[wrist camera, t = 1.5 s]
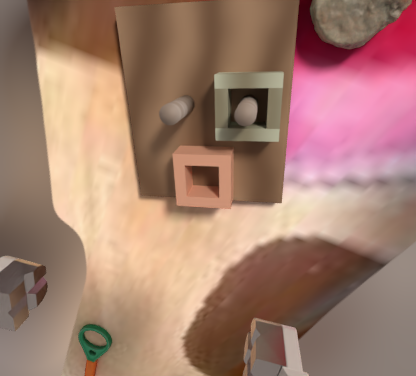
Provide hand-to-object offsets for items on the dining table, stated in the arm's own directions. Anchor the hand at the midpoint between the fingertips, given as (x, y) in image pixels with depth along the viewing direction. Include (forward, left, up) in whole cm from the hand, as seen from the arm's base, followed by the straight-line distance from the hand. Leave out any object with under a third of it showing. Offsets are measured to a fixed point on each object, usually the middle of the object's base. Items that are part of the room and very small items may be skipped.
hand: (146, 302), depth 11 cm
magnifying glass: (+25, +41, -25) cm, 54 cm away
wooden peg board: (+2, -3, -24) cm, 24 cm away
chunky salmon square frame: (+2, +4, -23) cm, 23 cm away
